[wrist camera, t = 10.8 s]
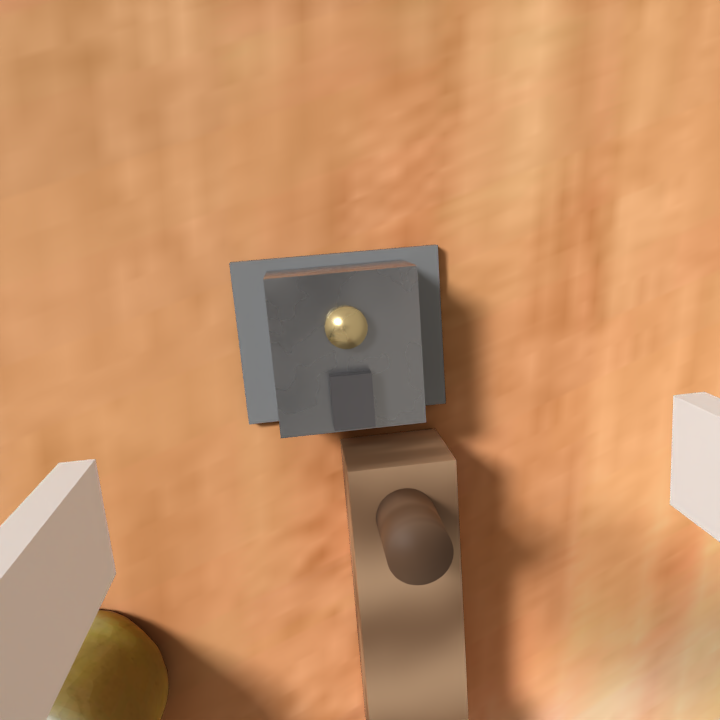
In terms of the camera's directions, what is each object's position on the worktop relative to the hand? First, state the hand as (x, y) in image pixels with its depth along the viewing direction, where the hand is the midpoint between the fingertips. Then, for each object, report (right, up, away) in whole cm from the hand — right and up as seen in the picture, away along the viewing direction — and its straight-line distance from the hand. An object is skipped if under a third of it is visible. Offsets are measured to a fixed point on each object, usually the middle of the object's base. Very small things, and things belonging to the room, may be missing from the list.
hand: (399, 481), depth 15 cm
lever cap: (-2, +4, +17) cm, 18 cm away
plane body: (+1, -9, +21) cm, 23 cm away
